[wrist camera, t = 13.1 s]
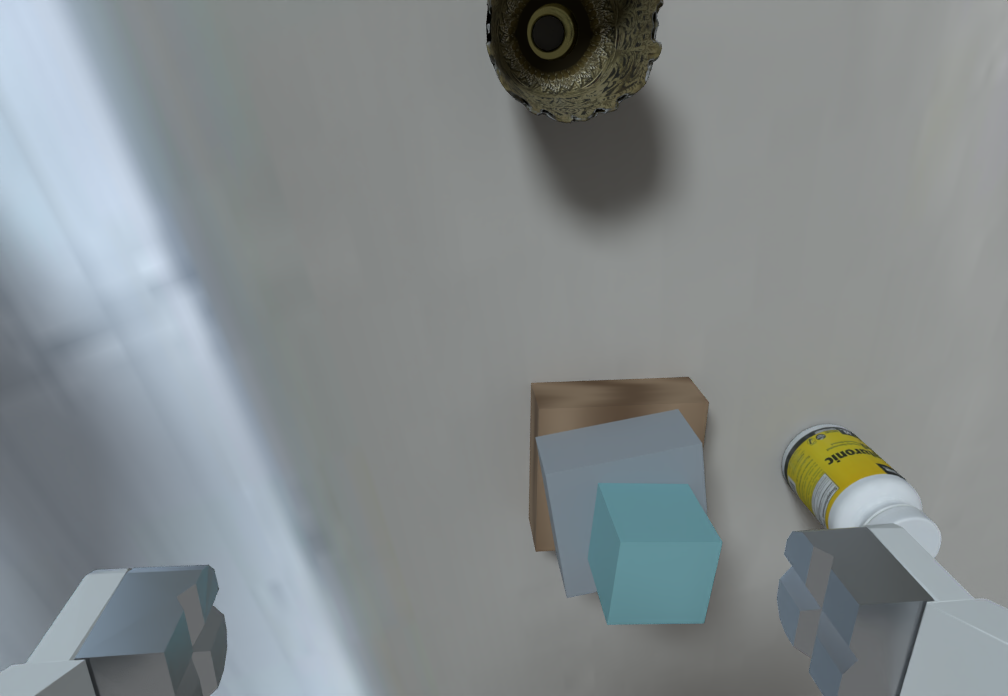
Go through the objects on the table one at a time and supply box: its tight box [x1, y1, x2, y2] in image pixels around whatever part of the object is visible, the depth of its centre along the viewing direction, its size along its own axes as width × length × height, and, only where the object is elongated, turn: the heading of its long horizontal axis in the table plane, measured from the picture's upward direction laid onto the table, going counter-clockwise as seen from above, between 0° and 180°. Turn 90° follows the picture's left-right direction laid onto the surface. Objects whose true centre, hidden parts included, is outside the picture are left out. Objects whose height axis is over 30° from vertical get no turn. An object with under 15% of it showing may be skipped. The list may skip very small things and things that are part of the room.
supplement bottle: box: [782, 424, 941, 558], centre depth 43 cm, size 5×5×10 cm
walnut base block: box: [529, 377, 709, 552], centre depth 44 cm, size 10×10×4 cm
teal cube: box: [588, 483, 722, 625], centre depth 37 cm, size 5×5×5 cm
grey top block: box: [535, 409, 707, 598], centre depth 41 cm, size 8×8×4 cm
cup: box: [486, 0, 663, 123], centre depth 32 cm, size 8×7×8 cm
